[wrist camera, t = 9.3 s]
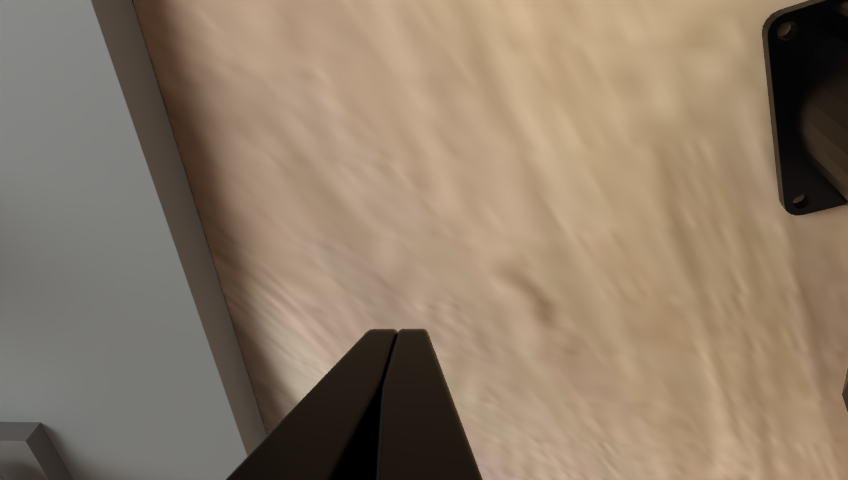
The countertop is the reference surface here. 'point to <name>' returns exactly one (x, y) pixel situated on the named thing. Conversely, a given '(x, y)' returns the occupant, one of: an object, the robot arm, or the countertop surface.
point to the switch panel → (105, 266)
